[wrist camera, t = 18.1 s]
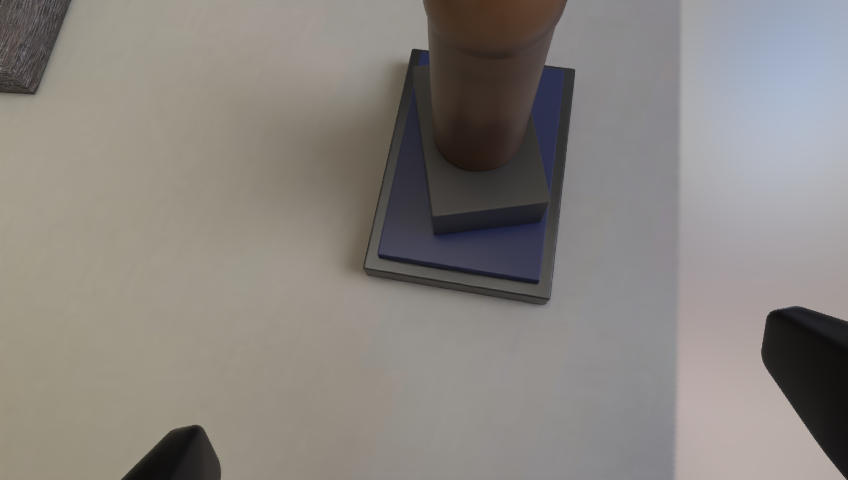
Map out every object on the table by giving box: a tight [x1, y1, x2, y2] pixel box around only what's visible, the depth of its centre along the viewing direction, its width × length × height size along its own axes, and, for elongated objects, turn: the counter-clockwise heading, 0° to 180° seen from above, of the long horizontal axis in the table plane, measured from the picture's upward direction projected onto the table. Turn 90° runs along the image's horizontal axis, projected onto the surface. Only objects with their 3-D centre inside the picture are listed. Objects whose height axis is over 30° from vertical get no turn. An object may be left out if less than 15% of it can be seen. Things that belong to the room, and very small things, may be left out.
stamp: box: [413, 0, 567, 235], centre depth 16 cm, size 6×4×10 cm, turn 7°
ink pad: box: [363, 49, 575, 305], centre depth 21 cm, size 10×7×2 cm
